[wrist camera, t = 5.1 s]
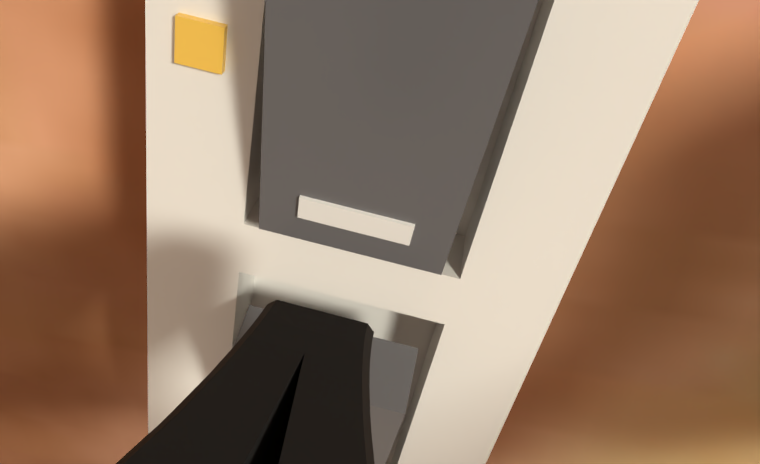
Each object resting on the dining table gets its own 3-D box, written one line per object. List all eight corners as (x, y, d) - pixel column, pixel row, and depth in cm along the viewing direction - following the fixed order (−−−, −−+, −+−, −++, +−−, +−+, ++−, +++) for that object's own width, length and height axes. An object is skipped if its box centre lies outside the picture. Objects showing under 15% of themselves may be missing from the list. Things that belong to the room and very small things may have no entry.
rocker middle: (553, -83, 9) (548, -27, 8) (452, 219, 14) (440, 278, 13) (301, -144, 9) (266, -96, 8) (281, 176, 14) (257, 231, 13)
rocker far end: (418, 348, 14) (404, 417, 13) (376, 460, 19) (364, 516, 18) (249, 304, 14) (223, 370, 13) (250, 427, 19) (231, 482, 18)
